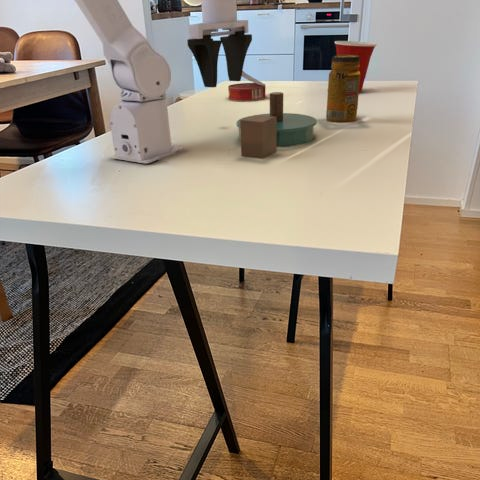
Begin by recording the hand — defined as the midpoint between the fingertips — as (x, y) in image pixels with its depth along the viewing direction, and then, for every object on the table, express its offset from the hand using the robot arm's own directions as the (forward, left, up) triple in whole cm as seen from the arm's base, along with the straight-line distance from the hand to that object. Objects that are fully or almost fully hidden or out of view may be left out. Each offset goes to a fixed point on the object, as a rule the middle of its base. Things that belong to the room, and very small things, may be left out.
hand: (223, 83), depth 84 cm
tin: (+3, -9, -9) cm, 13 cm away
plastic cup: (+59, -1, -10) cm, 60 cm away
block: (-8, -12, -9) cm, 17 cm away
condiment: (+21, -14, -10) cm, 27 cm away
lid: (+3, -9, -6) cm, 12 cm away
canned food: (+41, +21, -10) cm, 47 cm away
